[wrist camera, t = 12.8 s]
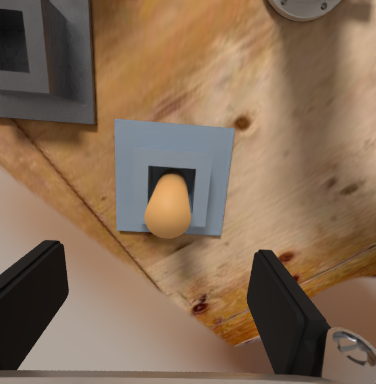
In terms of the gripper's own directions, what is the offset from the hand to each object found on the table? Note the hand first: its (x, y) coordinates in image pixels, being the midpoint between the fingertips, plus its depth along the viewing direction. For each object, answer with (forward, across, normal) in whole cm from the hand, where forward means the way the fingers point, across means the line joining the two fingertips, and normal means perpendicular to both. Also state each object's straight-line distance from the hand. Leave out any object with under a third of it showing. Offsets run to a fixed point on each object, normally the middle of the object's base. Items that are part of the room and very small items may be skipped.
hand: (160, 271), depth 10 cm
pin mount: (+24, +20, -15) cm, 35 cm away
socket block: (+24, 0, +1) cm, 24 cm away
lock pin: (+23, 0, +1) cm, 23 cm away
